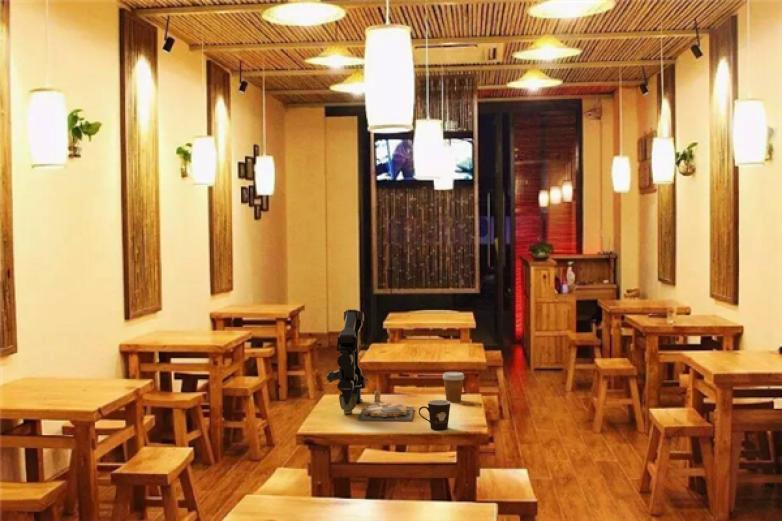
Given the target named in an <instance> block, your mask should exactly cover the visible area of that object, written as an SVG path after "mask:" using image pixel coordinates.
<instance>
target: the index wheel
mask: <svg viewBox="0 0 782 521" xmlns="http://www.w3.org/2000/svg"><path fill="white" fill-rule="evenodd" d="M373 404H374V405H371V404H369V405H366V406H367V408H364V413H366V414H370V415H372V416H380V417H393V416H400V415H405V414H407V412H410V409H409V407H410V406H408V405H405V406H404V405H403V404H400V403H398V404H394V403H393V404H392V403H385V402H384V401H381V391H380V390H375V391H374V400H373Z"/></svg>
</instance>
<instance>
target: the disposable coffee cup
mask: <svg viewBox="0 0 782 521" xmlns="http://www.w3.org/2000/svg"><path fill="white" fill-rule="evenodd" d="M464 379H465V374H464V373H463V372H459V371H447V372H444V373H443V375H442V380H443V385H444V392H445V400H446V401H450V402H451V403H460V402H461V401H462V393H463V385H464Z"/></svg>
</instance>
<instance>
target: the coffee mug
mask: <svg viewBox="0 0 782 521" xmlns="http://www.w3.org/2000/svg"><path fill="white" fill-rule="evenodd" d="M451 404H452V402H450V401H446V399H433V400H429V401H427V406H421V407H419V409H418V414H419V417H421V418H422V419H423V420H425V421H427V422H429V425H430V430H432V431H437V432H438V431H448V429H449V418H450V410H451ZM423 409H426V410H427V412H428V416H429V419H428V418H426V417H424V416H423V415H422V414H421V410H423Z"/></svg>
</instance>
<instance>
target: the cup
mask: <svg viewBox="0 0 782 521" xmlns="http://www.w3.org/2000/svg"><path fill="white" fill-rule="evenodd" d="M338 400H339V405H340V406H339V407H340V408H341V410H343V414H344V415H353V410H355V409H356V405H357V403H356V400H357V394H355V393H354V394H351V397H350V400H349V403H348V405H345V401H344V397H343V394H342V393H339V395H338Z"/></svg>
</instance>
